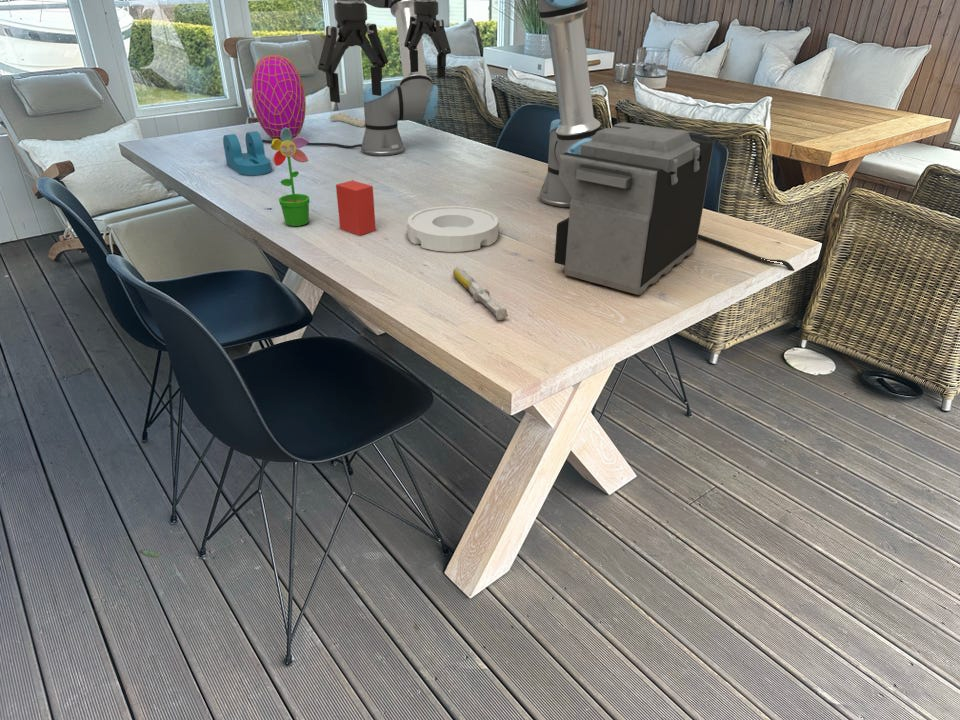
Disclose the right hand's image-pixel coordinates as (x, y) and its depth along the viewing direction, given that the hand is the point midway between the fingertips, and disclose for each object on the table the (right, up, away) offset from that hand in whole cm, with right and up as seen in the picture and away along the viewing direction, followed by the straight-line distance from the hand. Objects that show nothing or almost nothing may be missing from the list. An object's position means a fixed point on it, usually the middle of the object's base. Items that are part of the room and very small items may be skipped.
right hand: (356, 98), depth 170 cm
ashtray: (+24, -33, +7) cm, 41 cm away
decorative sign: (-26, +38, +125) cm, 134 cm away
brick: (-1, -31, +10) cm, 32 cm away
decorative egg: (-45, +20, +95) cm, 107 cm away
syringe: (+30, -52, -25) cm, 65 cm away
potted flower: (-18, -28, +14) cm, 36 cm away
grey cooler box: (+65, -42, -8) cm, 78 cm away
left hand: (+14, +27, +51) cm, 59 cm away
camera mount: (-46, -1, +59) cm, 75 cm away
